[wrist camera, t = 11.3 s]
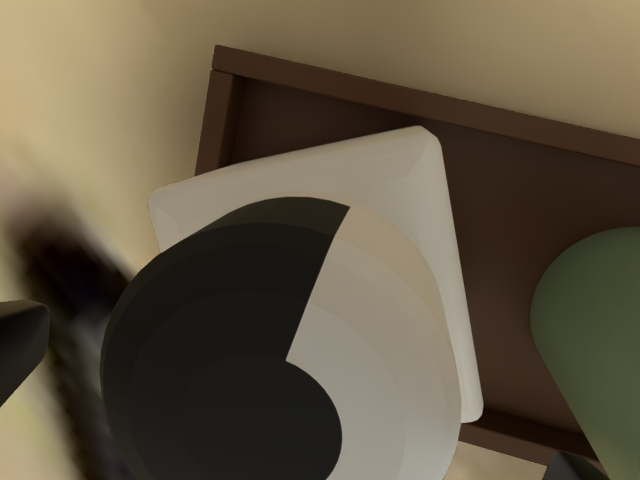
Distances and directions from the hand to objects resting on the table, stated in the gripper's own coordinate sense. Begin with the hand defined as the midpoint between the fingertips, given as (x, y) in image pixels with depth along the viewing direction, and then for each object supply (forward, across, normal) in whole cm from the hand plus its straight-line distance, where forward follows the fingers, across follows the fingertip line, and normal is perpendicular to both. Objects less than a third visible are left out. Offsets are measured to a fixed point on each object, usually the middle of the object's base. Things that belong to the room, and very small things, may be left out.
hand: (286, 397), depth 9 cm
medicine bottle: (+11, 0, 0) cm, 11 cm away
